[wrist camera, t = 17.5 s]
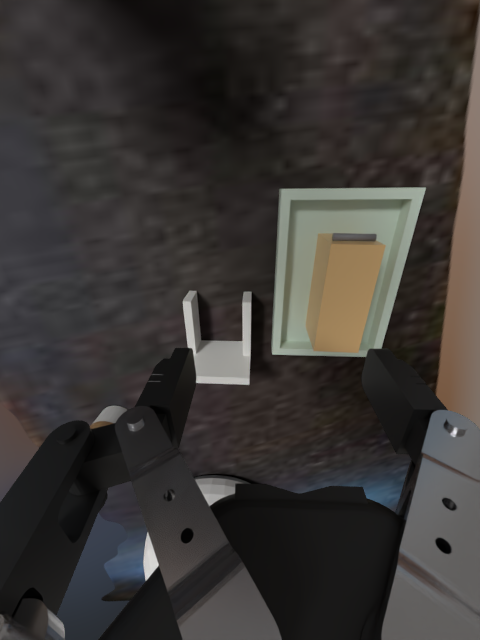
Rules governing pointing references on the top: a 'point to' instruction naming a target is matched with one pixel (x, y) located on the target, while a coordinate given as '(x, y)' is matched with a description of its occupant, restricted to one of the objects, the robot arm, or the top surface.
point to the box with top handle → (342, 290)
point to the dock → (218, 347)
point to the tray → (332, 217)
